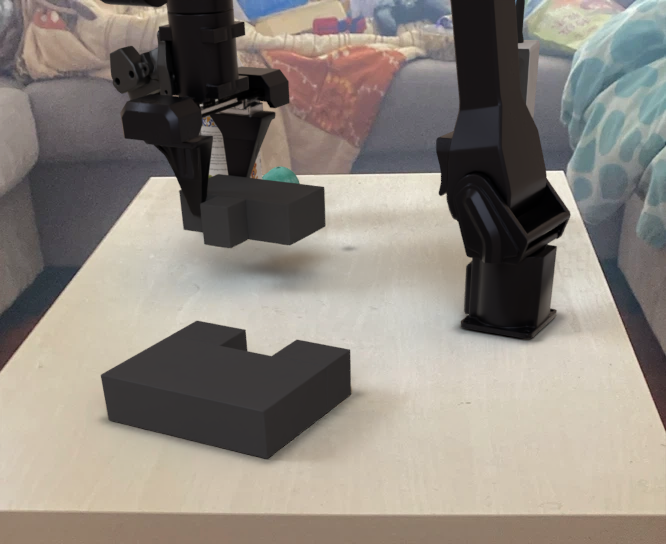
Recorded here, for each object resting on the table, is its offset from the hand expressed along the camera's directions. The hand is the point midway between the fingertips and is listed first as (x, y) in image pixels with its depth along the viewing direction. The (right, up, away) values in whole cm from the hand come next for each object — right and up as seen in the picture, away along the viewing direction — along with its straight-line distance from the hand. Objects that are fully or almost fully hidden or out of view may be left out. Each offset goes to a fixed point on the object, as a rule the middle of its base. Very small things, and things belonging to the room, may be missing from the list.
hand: (218, 206), depth 99 cm
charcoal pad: (+3, -26, -21) cm, 34 cm away
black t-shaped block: (+3, -3, -2) cm, 5 cm away
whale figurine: (+4, +10, +20) cm, 23 cm away
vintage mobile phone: (+29, +3, +11) cm, 31 cm away
